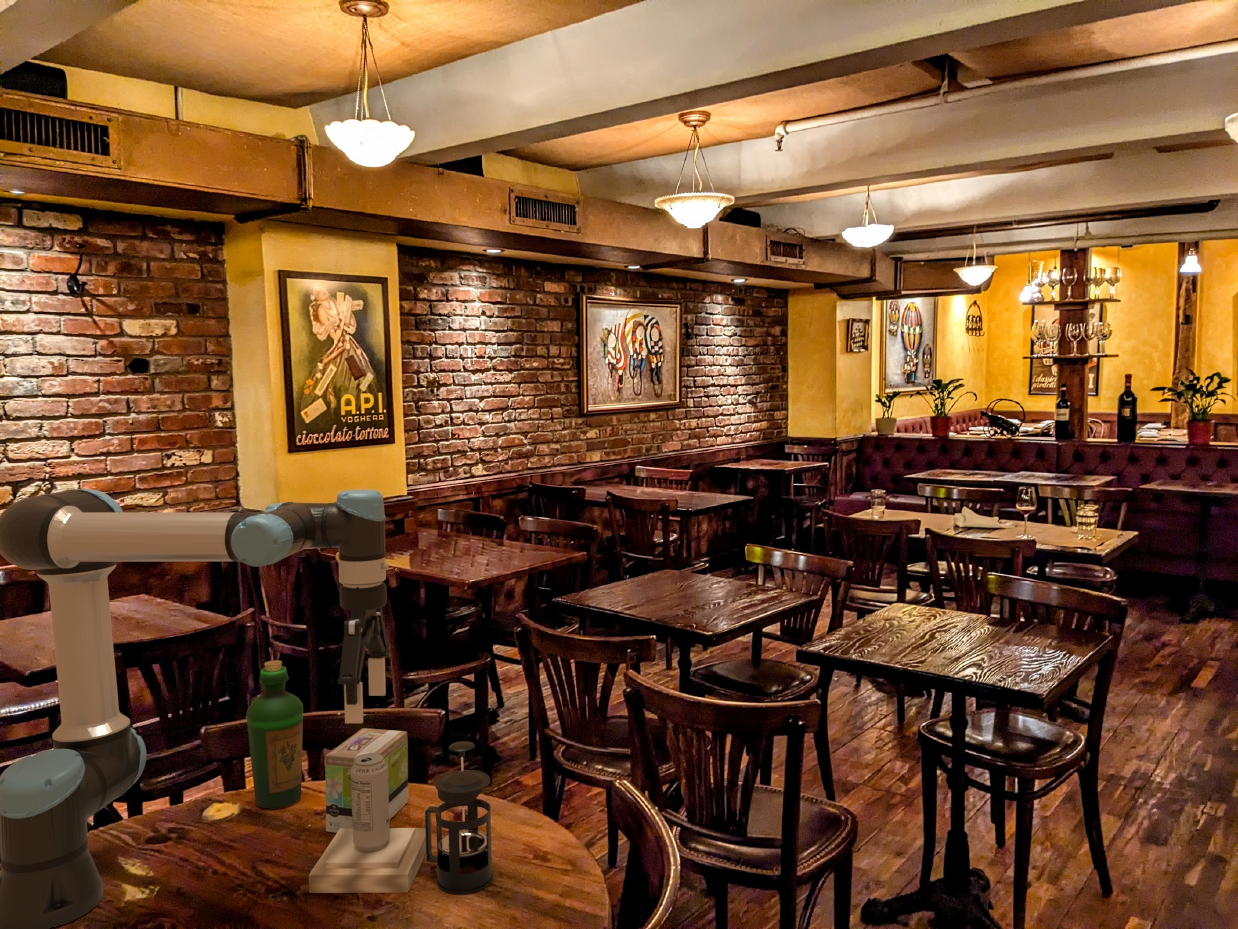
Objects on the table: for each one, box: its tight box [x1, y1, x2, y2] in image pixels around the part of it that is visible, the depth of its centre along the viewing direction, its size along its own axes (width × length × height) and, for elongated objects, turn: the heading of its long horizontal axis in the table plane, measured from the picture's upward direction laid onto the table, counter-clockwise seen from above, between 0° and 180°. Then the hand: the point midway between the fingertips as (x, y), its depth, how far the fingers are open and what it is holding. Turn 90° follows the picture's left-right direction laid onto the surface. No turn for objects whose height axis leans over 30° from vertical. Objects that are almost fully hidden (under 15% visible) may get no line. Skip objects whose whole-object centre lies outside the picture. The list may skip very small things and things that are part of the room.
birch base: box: [308, 827, 426, 894], centre depth 157 cm, size 16×16×4 cm
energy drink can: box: [351, 753, 391, 852], centre depth 156 cm, size 6×6×15 cm
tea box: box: [324, 727, 409, 834], centre depth 176 cm, size 15×10×15 cm, turn 168°
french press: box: [424, 740, 495, 896], centre depth 152 cm, size 12×9×23 cm
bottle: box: [245, 659, 304, 810], centre depth 183 cm, size 11×11×28 cm
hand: (366, 708), depth 155 cm, fingers open, 13 cm apart
